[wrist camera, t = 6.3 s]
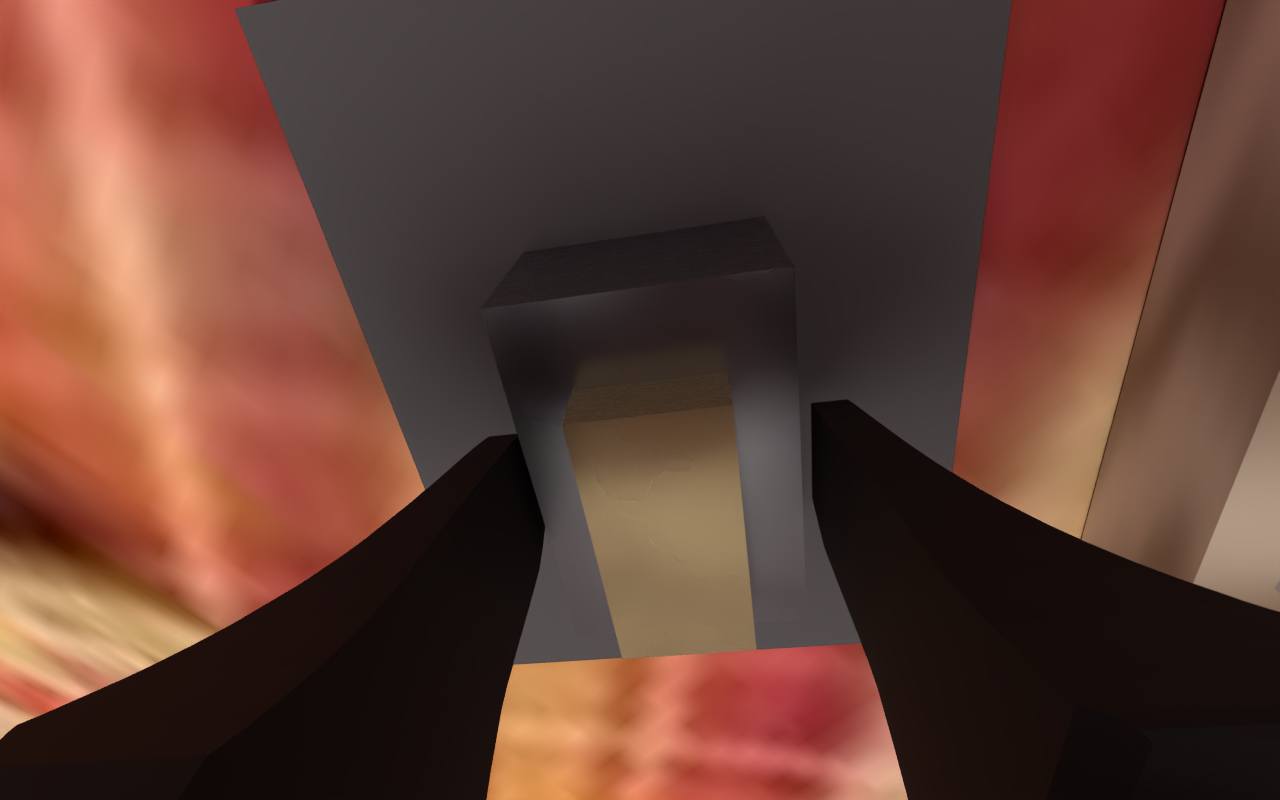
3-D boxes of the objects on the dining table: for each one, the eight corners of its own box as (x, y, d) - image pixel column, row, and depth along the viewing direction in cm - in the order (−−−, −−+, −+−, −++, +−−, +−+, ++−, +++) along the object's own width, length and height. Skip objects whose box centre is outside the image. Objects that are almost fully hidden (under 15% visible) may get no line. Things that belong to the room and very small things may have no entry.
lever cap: (781, 516, 14) (817, 664, 11) (594, 533, 15) (571, 680, 11) (764, 216, 11) (808, 289, 7) (523, 251, 11) (459, 336, 8)
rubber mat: (924, 623, 16) (931, 638, 16) (499, 650, 18) (494, 665, 17) (1011, -134, 9) (1029, -144, 8) (253, 10, 10) (234, 8, 10)
